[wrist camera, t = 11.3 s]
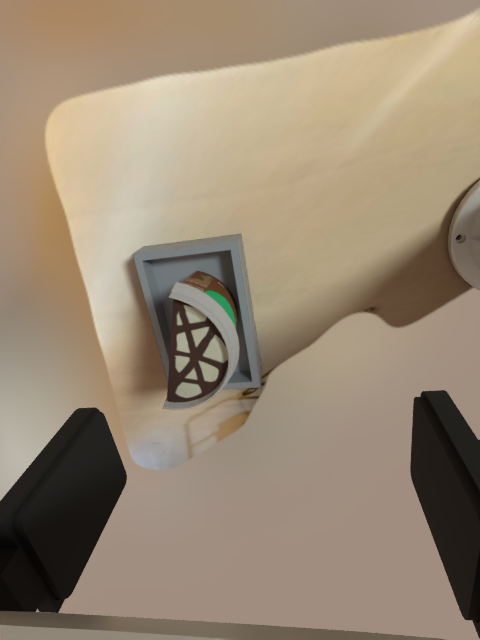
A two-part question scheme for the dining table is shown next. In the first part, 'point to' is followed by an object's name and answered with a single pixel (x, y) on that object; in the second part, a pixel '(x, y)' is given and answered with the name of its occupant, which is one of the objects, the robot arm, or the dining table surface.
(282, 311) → the dining table surface
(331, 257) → the dining table surface
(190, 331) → the food container
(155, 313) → the tray
